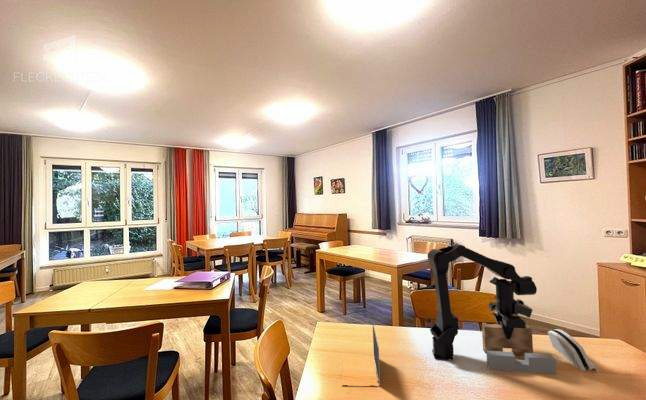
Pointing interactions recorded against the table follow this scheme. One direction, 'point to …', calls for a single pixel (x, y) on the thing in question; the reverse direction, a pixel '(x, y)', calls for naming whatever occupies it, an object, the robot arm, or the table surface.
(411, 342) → the table surface
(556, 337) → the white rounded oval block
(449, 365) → the table surface
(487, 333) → the walnut slat
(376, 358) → the laptop
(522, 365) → the notched gray bar
